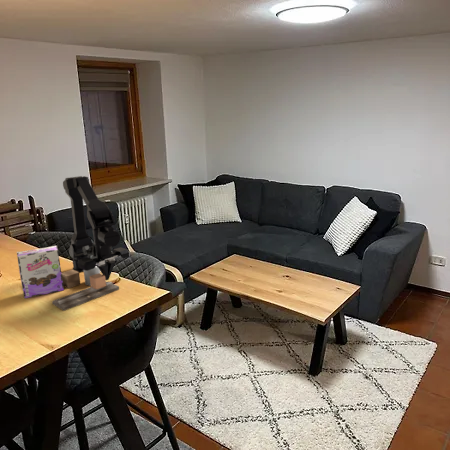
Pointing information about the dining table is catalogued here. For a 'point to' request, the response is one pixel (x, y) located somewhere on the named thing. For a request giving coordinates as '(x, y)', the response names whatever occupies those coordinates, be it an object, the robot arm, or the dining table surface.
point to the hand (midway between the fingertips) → (106, 280)
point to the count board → (84, 296)
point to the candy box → (40, 271)
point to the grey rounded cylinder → (90, 274)
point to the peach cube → (97, 281)
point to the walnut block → (70, 278)
